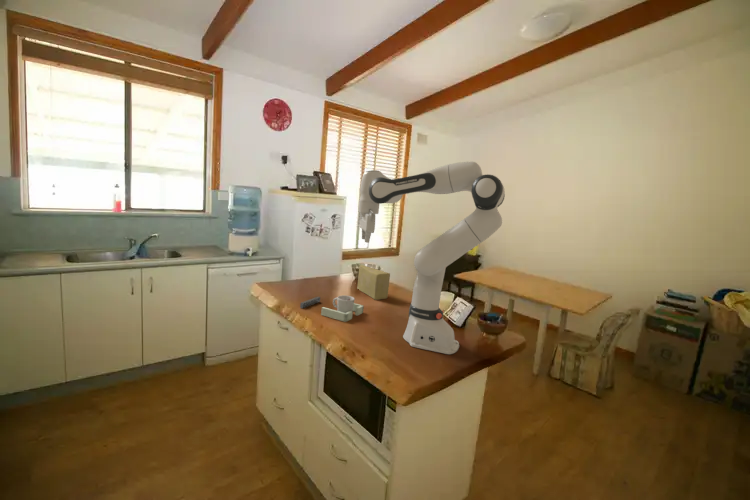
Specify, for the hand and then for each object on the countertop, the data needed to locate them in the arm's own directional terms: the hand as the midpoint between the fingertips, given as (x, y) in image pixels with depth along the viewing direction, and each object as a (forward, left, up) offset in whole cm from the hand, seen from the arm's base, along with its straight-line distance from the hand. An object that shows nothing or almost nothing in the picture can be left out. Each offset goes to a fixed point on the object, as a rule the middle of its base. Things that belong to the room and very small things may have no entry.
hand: (365, 240), depth 151 cm
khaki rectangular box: (+15, -41, -36) cm, 57 cm away
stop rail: (+27, -2, -36) cm, 45 cm away
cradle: (+9, -2, -36) cm, 37 cm away
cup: (+9, -2, -36) cm, 37 cm away
